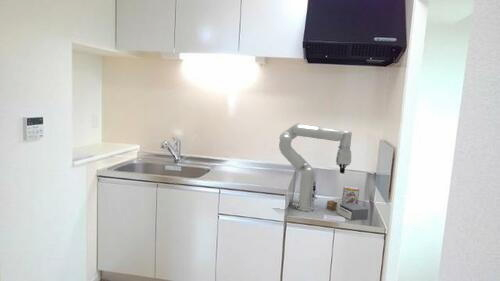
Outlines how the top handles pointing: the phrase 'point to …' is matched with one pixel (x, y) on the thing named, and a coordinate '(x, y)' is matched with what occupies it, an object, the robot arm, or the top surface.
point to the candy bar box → (350, 195)
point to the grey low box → (356, 210)
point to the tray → (344, 212)
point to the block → (331, 205)
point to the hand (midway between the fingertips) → (341, 173)
